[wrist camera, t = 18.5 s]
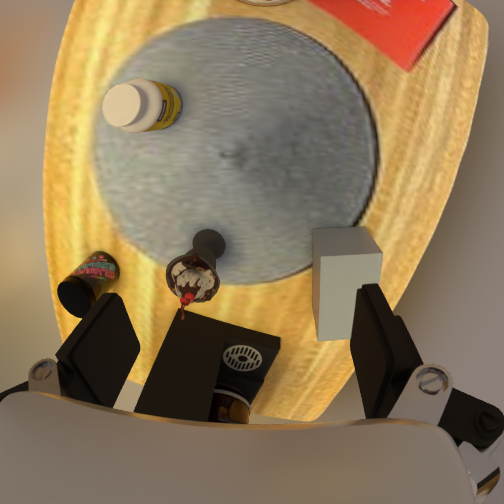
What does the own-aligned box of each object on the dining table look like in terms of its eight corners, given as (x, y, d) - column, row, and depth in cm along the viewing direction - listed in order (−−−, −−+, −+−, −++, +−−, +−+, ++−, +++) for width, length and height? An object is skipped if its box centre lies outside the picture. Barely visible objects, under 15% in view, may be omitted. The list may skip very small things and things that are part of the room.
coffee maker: (242, 415, 62) (224, 547, 31) (163, 393, 61) (120, 522, 30) (284, 338, 50) (281, 538, 19) (177, 307, 49) (97, 498, 18)
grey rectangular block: (312, 228, 41) (320, 256, 33) (363, 226, 40) (383, 253, 32) (312, 304, 47) (317, 341, 39) (357, 301, 46) (370, 336, 38)
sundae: (204, 271, 45) (177, 335, 32) (179, 237, 43) (139, 292, 30) (239, 252, 44) (224, 315, 30) (214, 215, 41) (185, 266, 28)
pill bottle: (176, 133, 36) (140, 141, 26) (135, 124, 36) (90, 131, 26) (189, 88, 34) (156, 78, 23) (146, 81, 33) (102, 73, 23)
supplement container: (127, 277, 47) (99, 312, 38) (103, 288, 49) (75, 322, 40) (106, 244, 45) (72, 275, 35) (83, 258, 46) (50, 288, 37)
